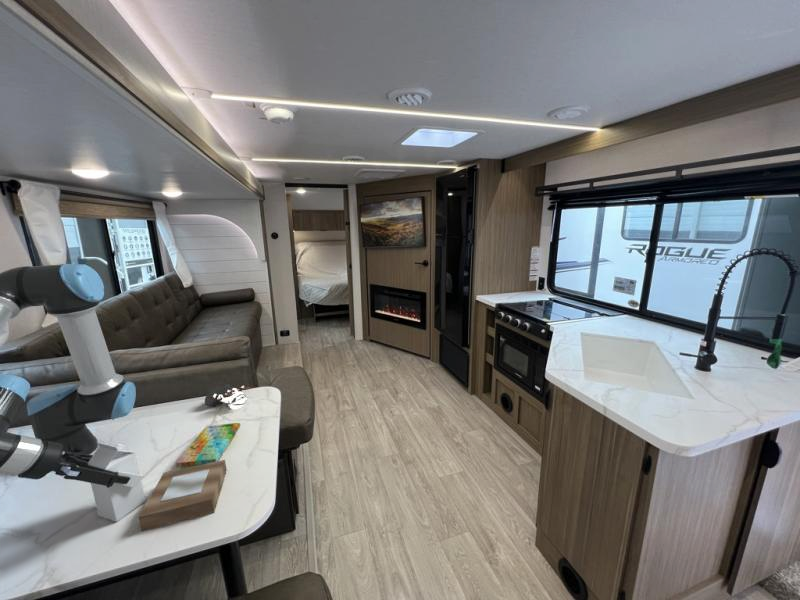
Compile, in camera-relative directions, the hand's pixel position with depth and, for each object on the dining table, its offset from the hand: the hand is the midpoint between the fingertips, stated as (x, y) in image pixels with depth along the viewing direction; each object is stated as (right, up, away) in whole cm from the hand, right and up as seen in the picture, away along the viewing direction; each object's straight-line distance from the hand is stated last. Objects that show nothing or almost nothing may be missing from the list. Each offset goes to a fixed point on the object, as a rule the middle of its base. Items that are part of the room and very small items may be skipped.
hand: (132, 475), depth 88 cm
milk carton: (-1, -8, -1) cm, 9 cm away
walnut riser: (+14, -7, +1) cm, 16 cm away
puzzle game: (+9, -4, +22) cm, 24 cm away
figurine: (0, +2, +51) cm, 51 cm away
